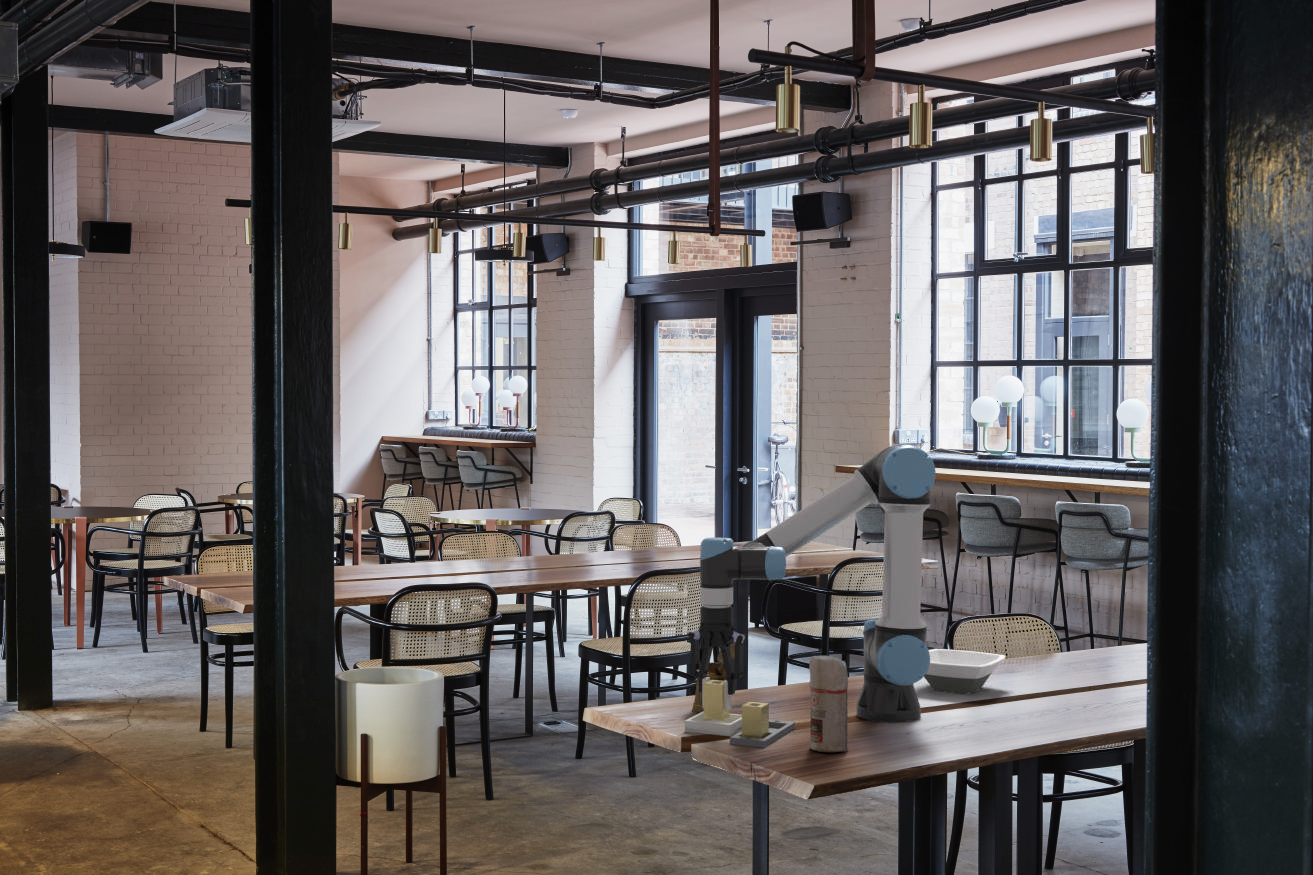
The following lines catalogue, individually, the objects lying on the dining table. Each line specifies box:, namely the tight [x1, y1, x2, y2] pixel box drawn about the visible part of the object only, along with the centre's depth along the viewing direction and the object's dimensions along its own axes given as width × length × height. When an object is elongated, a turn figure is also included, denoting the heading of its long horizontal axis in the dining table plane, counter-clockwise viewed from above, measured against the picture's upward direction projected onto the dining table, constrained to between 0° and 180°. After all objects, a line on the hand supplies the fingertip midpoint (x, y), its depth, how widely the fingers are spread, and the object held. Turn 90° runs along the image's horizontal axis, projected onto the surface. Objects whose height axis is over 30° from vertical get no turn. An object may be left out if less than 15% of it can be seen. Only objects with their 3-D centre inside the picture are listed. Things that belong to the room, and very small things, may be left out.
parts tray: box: [684, 711, 742, 737], centre depth 291 cm, size 11×11×2 cm
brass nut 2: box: [741, 701, 770, 739], centre depth 280 cm, size 5×5×8 cm
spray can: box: [808, 655, 849, 753], centre depth 272 cm, size 8×8×20 cm
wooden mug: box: [691, 640, 735, 714], centre depth 310 cm, size 9×14×18 cm, turn 36°
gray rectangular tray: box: [729, 719, 796, 749], centre depth 284 cm, size 8×20×2 cm, turn 155°
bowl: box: [923, 648, 1006, 694], centre depth 338 cm, size 22×23×8 cm
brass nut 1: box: [704, 680, 731, 720], centre depth 291 cm, size 5×5×8 cm
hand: (716, 707), depth 291 cm, fingers closed on brass nut 1, 5 cm apart
